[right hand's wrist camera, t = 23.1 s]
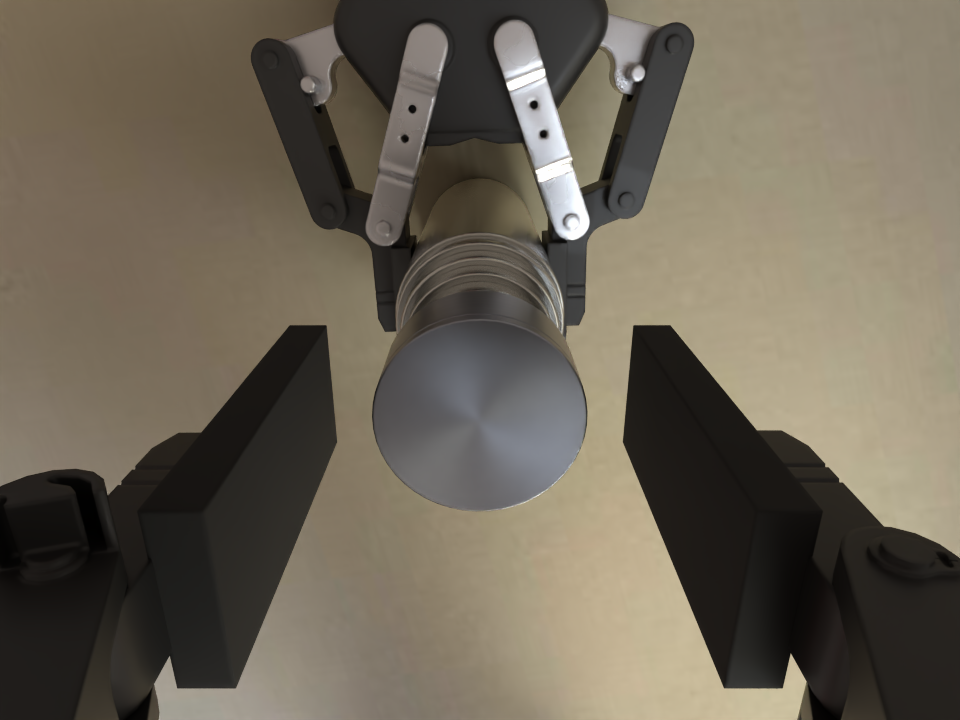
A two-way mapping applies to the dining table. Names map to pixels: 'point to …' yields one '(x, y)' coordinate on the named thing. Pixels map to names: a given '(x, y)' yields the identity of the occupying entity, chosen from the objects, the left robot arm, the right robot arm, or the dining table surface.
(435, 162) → the dining table surface
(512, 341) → the cap
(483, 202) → the bottle
